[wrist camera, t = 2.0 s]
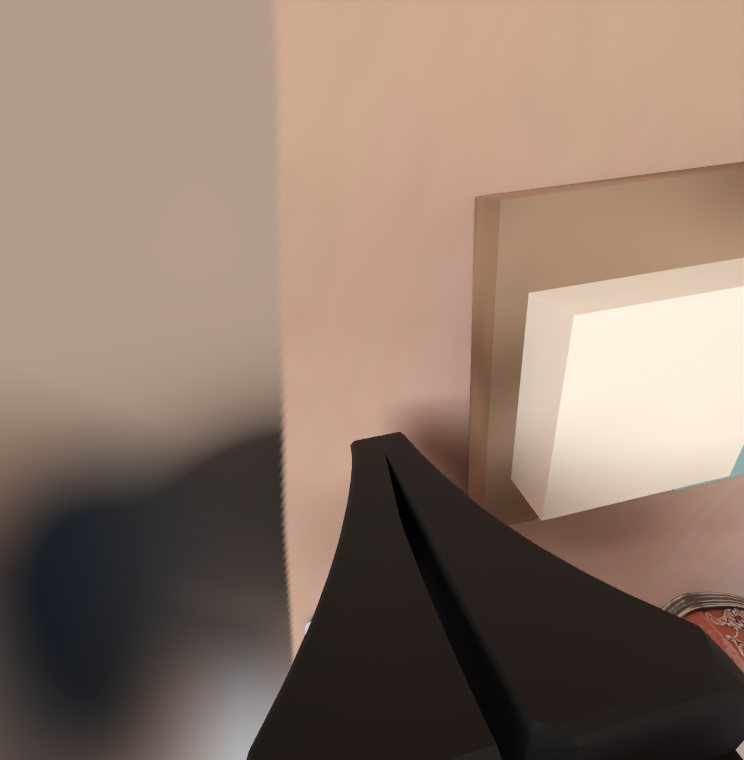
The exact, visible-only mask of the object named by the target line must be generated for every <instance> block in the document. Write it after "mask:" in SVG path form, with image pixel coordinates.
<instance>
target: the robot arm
mask: <svg viewBox="0 0 744 760" xmlns="http://www.w3.org/2000/svg"><path fill="white" fill-rule="evenodd" d="M350 446H351V452H352V473H351V483H350V489H349V496H348V503H347V508H346V512H345V517H344V521H343V526H342V530H341V534H340V538H339V542H338V546H337V549H336V553H335V556H334V559H333V562H332V565H331V569H330V572H329V575H328V578H327V580H326V583H325V586H324V589H323V592H322V594H321V597H320V600H319V603H318V605H317V608H316V610H315V613H314V616H313V618H312V620H311V621H310V622H308V623H307V624H306V626H305V637H304V639H303V641H302V643H301V646H300V648H299V650H298V653H297V655H296V657H295V659H294V662H293V664H292V666H291V668H290V671H289V673H288V675H287V677H286V679H285V681H284V683H283V686H282V687H281V690H280V691H279V693H278V695H277V697H276V699H275V701H274V703H273V705H272V707H271V709H270V711H269V713H268V715H267V717H266V719H265V721H264V723H263V725H262V727H261V728H260V731H259V732H258V735H257V736H256V738H255V741H254V742H253V744H252V746H251V748H250V751H249V753H248V757H247V760H743V759H742V758H741V757H740V755H739V754H738V753H737V751H736V749H737V747H738V746H739V745H740V744H741V743H742V742H743V741H744V673H743V671H742V670H741V669H740V668H739V667H738V666H737V665H736V663H735V662H734V661H733V660H732V659H731V658H730V657H729V656H728V654H727V653H726V652H725V651H724V650H723V649H722V648H721V647H720V646H719V645H718V644H717V643H716V642H715V641H714V640H713V639H712V638H711V637H710V636H709V635H708V634H707V633H706V632H705V631H704V630H703V629H702V628H701V627H700V626H699V625H696V624H694V623H692V622H689V621H687V620H685V619H683V618H680V617H678V616H676V615H674V614H671V613H669V612H667V611H665V610H662V609H660V608H658V607H656V606H653V605H651V604H649V603H647V602H644V601H642V600H640V599H638V598H635V597H633V596H631V595H629V594H627V593H625V592H622V591H620V590H618V589H616V588H614V587H612V586H610V585H609V584H607V583H605V582H603V581H601V580H599V579H597V578H595V577H593V576H591V575H589V574H587V573H585V572H583V571H581V570H579V569H578V568H576V567H574V566H572V565H571V564H569V563H567V562H565V561H564V560H562V559H560V558H558V557H557V556H555V555H553V554H551V553H550V552H548V551H546V550H544V549H543V548H541V547H539V546H538V545H536V544H534V543H533V542H531V541H530V540H528V539H527V538H525V537H524V536H522V535H520V534H519V533H517V532H516V531H514V530H513V529H511V528H510V527H509V526H507V525H506V524H504V523H503V522H501V521H500V520H498V519H497V518H496V517H494V516H493V515H492V514H490V513H489V512H488V511H486V510H485V509H484V508H482V507H481V506H480V505H478V504H477V503H476V502H475V501H473V500H472V499H471V498H470V497H468V496H467V495H466V494H465V493H464V492H462V491H461V490H460V489H459V488H458V487H456V486H455V485H454V484H453V483H452V482H451V481H450V480H449V479H447V478H446V477H445V476H444V475H443V474H442V473H441V472H440V471H439V470H438V469H436V468H435V467H434V466H433V465H432V464H431V463H430V462H429V461H428V460H427V459H426V458H425V457H424V456H423V455H422V454H421V453H420V452H419V451H418V450H417V449H416V448H415V446H414V445H413V444H412V443H411V442H410V441H409V440H408V439H407V438H406V436H405V435H404V434H402V433H401V432H396V433H391V434H386V435H382V436H377V437H372V438H367V439H362V440H357V441H354V442H353V443H352V444H351V445H350Z"/></svg>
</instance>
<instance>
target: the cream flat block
mask: <svg viewBox="0 0 744 760" xmlns="http://www.w3.org/2000/svg"><path fill="white" fill-rule="evenodd" d="M743 445H744V258H739V259H733V260H726V261H720V262H714V263H708V264H702V265H696V266H690V267H684V268H678V269H672V270H665V271H659V272H653V273H647V274H641V275H635V276H629V277H623V278H617V279H611V280H604V281H598V282H592V283H586V284H580V285H574V286H568V287H562V288H556V289H550V290H544V291H537V292H531V293H529V296H528V306H527V317H526V327H525V337H524V348H523V358H522V369H521V379H520V389H519V400H518V410H517V421H516V431H515V441H514V452H513V462H512V473H511V480H512V481H513V482H514V484H515V485H516V487H517V488H518V489H519V491H520V492H521V493H522V495H523V496H524V498H525V499H526V500H527V502H528V503H529V504H530V506H531V507H532V508H533V510H534V511H535V513H536V514H537V515H538V517H539V518H540V519H541V521H544V520H548V519H552V518H556V517H560V516H564V515H569V514H573V513H577V512H581V511H585V510H589V509H594V508H598V507H602V506H606V505H610V504H614V503H619V502H623V501H627V500H631V499H635V498H639V497H644V496H648V495H652V494H656V493H660V492H664V491H669V490H673V489H677V488H681V487H685V486H690V485H694V484H698V483H702V482H706V481H710V480H715V479H719V478H723V477H727V476H730V474H731V472H732V469H733V467H734V465H735V463H736V461H737V458H738V456H739V454H740V452H741V450H742V447H743Z"/></svg>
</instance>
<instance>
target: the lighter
mask: <svg viewBox="0 0 744 760" xmlns="http://www.w3.org/2000/svg"><path fill="white" fill-rule="evenodd" d="M662 610H665V611H667V612H669V613H671V614H674V615H676V616H678V617H680V618H683V619H685V620H687V621H689V622H692V623H694V624H696V625H699V626H700V627H701V628H702V629H703V630H704V631H705V632H706V633H707V634H708V635H709V636H710V637H711V638H712V639H713V640H714V641H715V642H716V643H717V644H718V645H719V646H720V647H721V648H722V649H723V650H724V651H725V652H726V653H727V654H728V656H729V657H730V658H731V659H732V660H733V661H734V662H735V663H736V665H737V666H738V667H739V668H740V669H741V670H742V671H743V673H744V598H741V597H739V596H736V595H731V594H726V593H714V592H703V593H689V594H684V595H681V596H679V597H677V598H675V599H673V600H672V601H670V602H669V603H668V604H667V605H666V606H665V607H664V608H663V609H662Z"/></svg>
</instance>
